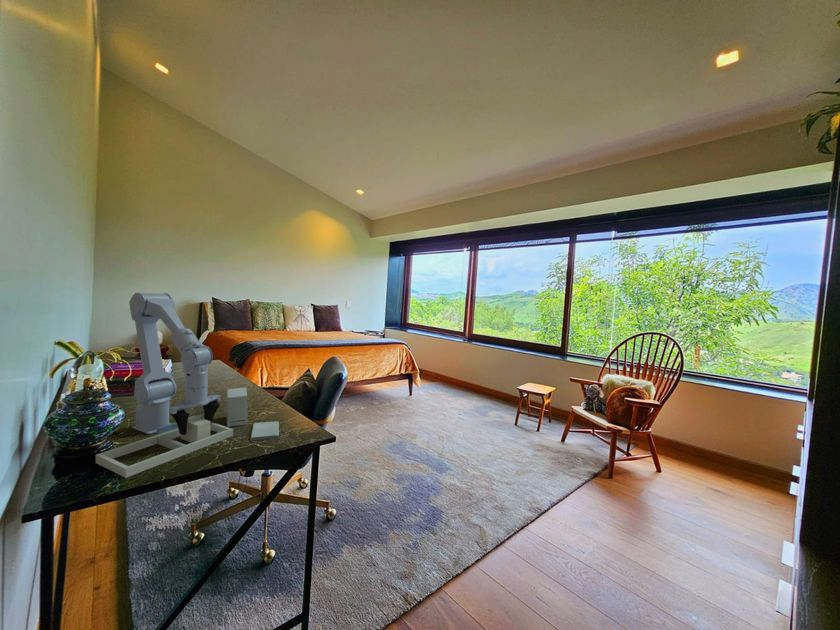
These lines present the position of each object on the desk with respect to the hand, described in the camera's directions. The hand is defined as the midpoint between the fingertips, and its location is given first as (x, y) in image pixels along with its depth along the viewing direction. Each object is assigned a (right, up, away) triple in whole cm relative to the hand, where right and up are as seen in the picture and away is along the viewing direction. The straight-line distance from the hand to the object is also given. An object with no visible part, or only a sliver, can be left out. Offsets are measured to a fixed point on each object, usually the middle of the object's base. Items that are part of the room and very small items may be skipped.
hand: (195, 429), depth 106 cm
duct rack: (-3, -3, -6) cm, 8 cm away
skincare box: (+4, -2, +16) cm, 17 cm away
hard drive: (+18, -4, +9) cm, 20 cm away
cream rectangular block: (0, -3, 0) cm, 3 cm away
